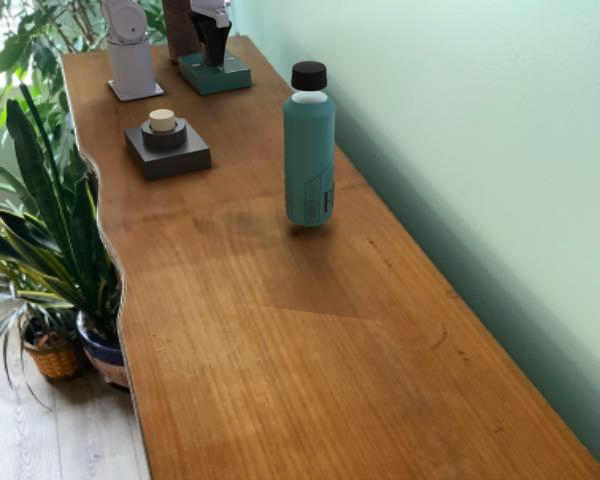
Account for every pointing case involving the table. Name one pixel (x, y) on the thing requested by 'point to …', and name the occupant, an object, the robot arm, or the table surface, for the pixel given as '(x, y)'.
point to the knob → (206, 54)
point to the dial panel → (215, 73)
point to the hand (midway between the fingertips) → (213, 59)
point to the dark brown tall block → (180, 29)
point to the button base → (167, 149)
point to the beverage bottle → (309, 147)
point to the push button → (162, 120)
